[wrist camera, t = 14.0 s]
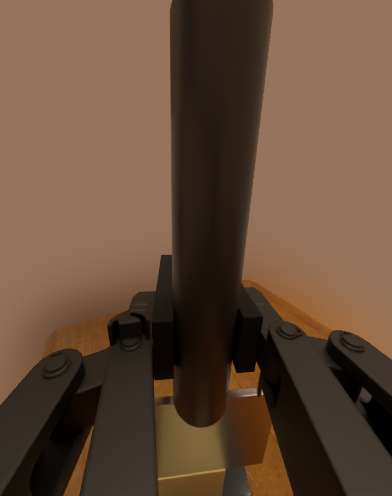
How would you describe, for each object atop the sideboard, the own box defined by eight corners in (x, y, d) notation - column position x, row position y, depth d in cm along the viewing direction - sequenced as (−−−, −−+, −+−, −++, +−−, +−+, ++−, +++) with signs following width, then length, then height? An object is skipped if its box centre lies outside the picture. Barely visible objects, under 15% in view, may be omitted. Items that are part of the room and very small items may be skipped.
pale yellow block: (221, 499, 16) (225, 470, 14) (158, 509, 15) (156, 480, 14) (212, 437, 19) (214, 410, 18) (161, 443, 19) (160, 416, 18)
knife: (119, 515, 10) (11, -73, 3) (130, 448, 12) (79, 34, 6) (271, 490, 11) (410, -5, 4) (252, 433, 13) (324, 62, 7)
